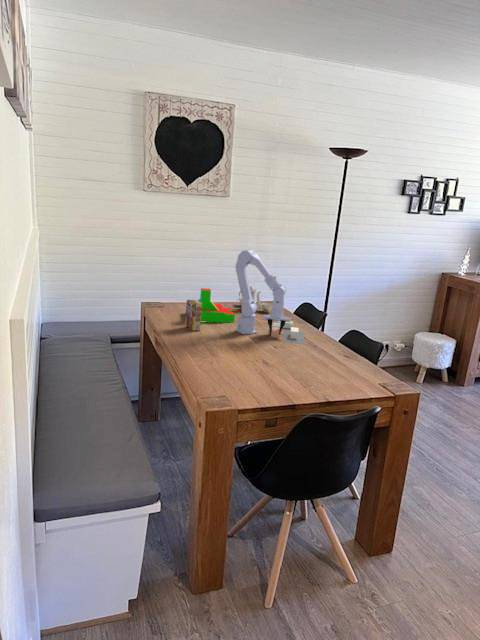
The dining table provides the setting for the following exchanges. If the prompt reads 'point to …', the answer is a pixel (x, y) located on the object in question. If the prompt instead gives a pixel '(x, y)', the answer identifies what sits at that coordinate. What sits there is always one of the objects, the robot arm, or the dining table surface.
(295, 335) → the cream brick
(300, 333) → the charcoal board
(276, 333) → the terracotta brick
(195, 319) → the candy box
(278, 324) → the slate brick
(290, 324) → the sage brick
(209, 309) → the building blocks toy
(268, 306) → the chinaware
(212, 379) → the dining table surface
